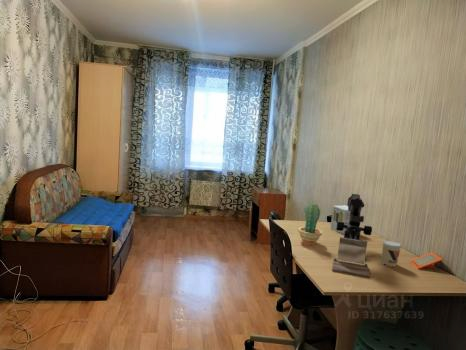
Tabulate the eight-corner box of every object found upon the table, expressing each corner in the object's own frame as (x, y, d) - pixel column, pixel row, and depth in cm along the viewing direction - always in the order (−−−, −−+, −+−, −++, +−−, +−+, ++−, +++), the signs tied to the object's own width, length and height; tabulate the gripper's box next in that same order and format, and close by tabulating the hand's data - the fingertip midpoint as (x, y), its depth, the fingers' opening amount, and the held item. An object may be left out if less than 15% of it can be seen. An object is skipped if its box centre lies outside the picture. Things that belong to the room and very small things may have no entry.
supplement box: (329, 228, 270) (332, 205, 268) (342, 227, 277) (345, 205, 274) (342, 234, 259) (345, 210, 256) (356, 232, 265) (359, 209, 263)
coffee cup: (387, 267, 200) (390, 246, 198) (376, 260, 209) (379, 240, 207) (401, 266, 202) (404, 246, 201) (390, 260, 211) (393, 240, 210)
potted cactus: (319, 240, 239) (324, 202, 236) (323, 247, 224) (327, 208, 221) (295, 237, 241) (300, 200, 237) (297, 244, 225) (302, 205, 222)
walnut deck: (333, 261, 201) (333, 257, 201) (367, 267, 196) (368, 264, 196) (332, 271, 187) (332, 266, 187) (369, 278, 182) (369, 273, 182)
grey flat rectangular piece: (337, 259, 199) (337, 258, 201) (364, 264, 195) (364, 263, 197) (339, 237, 198) (339, 237, 200) (367, 242, 194) (366, 241, 196)
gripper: (339, 207, 206) (336, 231, 197) (374, 212, 200) (372, 237, 191) (337, 218, 214) (334, 241, 205) (371, 222, 209) (369, 247, 200)
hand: (352, 241), depth 200 cm, fingers closed
